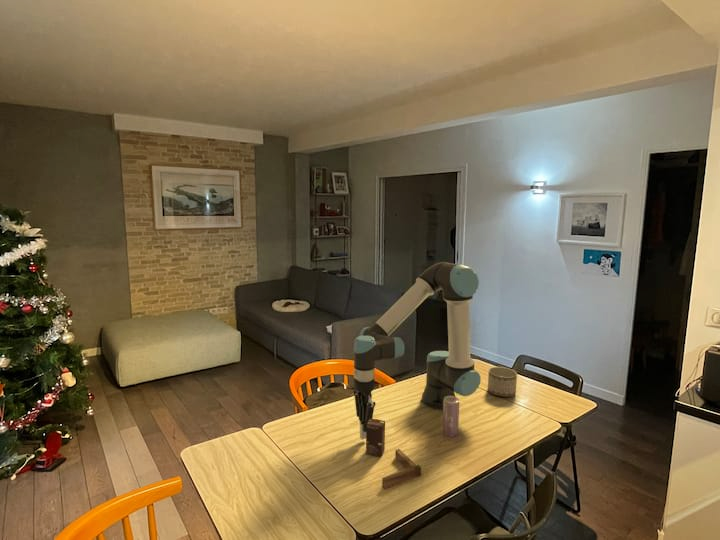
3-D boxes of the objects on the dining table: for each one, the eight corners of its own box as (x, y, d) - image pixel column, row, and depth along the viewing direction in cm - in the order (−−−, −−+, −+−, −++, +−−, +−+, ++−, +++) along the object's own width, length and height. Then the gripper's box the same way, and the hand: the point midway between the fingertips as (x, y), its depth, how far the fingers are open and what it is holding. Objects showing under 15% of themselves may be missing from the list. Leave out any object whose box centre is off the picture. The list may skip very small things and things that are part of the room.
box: (365, 455, 144) (365, 423, 142) (369, 448, 148) (369, 417, 146) (382, 458, 142) (382, 426, 140) (385, 451, 146) (385, 419, 145)
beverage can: (459, 433, 158) (460, 397, 155) (456, 441, 152) (457, 404, 150) (444, 430, 160) (445, 394, 158) (440, 437, 155) (441, 401, 153)
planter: (519, 399, 186) (521, 377, 185) (492, 398, 186) (493, 377, 185) (510, 387, 199) (511, 366, 197) (484, 386, 199) (485, 366, 197)
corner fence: (366, 467, 137) (366, 459, 137) (400, 455, 144) (400, 448, 143) (384, 489, 127) (384, 480, 126) (421, 475, 133) (421, 467, 133)
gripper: (347, 373, 153) (347, 431, 156) (363, 387, 141) (363, 449, 145) (364, 370, 156) (364, 426, 160) (382, 382, 145) (381, 443, 148)
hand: (364, 437), depth 152 cm, fingers closed
